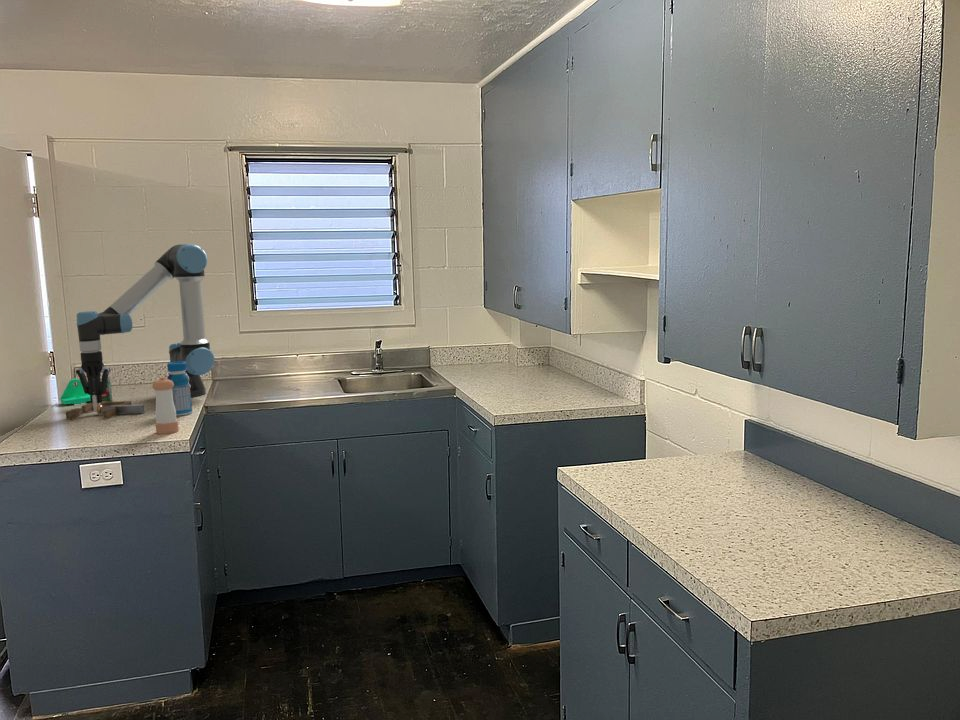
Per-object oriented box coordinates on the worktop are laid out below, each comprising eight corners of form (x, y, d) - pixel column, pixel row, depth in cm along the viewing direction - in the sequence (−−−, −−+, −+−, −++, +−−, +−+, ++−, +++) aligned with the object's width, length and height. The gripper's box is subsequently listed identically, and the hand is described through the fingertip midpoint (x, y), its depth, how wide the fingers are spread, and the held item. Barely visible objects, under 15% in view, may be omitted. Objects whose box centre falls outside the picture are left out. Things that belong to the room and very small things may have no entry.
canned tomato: (109, 403, 333) (106, 377, 331) (116, 405, 327) (113, 379, 326) (89, 406, 327) (86, 380, 326) (96, 409, 322) (93, 382, 320)
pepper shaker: (181, 428, 281) (176, 375, 278) (174, 433, 274) (169, 378, 271) (160, 429, 281) (155, 376, 278) (153, 434, 273) (147, 379, 271)
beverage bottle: (182, 416, 301) (177, 364, 298) (164, 415, 304) (159, 364, 301) (197, 412, 309) (193, 361, 306) (180, 411, 312) (175, 360, 309)
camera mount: (64, 407, 330) (62, 382, 328) (60, 404, 336) (58, 380, 334) (96, 402, 337) (93, 378, 336) (91, 400, 343) (89, 376, 342)
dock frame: (131, 408, 321) (131, 400, 321) (107, 418, 302) (106, 411, 302) (93, 409, 322) (92, 401, 322) (66, 419, 303) (65, 412, 302)
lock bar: (145, 411, 312) (144, 403, 312) (141, 413, 309) (140, 405, 308) (101, 412, 313) (100, 404, 312) (97, 414, 310) (96, 406, 309)
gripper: (112, 349, 311) (118, 408, 315) (79, 350, 312) (86, 409, 315) (102, 352, 304) (108, 412, 307) (69, 353, 304) (76, 413, 308)
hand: (97, 411), depth 311 cm, fingers closed
